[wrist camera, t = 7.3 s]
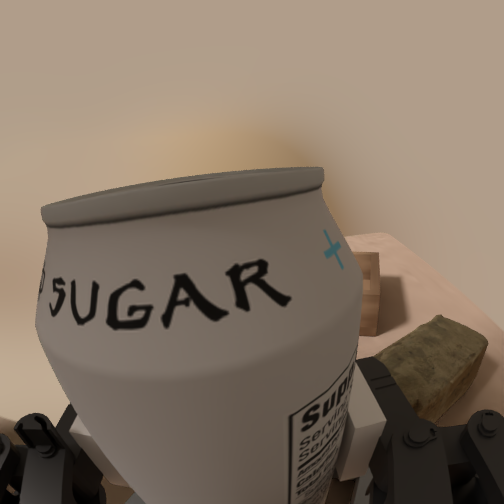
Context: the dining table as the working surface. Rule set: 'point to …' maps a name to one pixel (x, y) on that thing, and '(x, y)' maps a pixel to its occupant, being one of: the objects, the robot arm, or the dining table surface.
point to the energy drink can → (206, 332)
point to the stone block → (435, 364)
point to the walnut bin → (369, 291)
